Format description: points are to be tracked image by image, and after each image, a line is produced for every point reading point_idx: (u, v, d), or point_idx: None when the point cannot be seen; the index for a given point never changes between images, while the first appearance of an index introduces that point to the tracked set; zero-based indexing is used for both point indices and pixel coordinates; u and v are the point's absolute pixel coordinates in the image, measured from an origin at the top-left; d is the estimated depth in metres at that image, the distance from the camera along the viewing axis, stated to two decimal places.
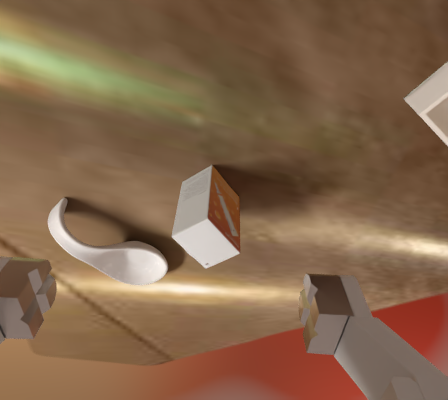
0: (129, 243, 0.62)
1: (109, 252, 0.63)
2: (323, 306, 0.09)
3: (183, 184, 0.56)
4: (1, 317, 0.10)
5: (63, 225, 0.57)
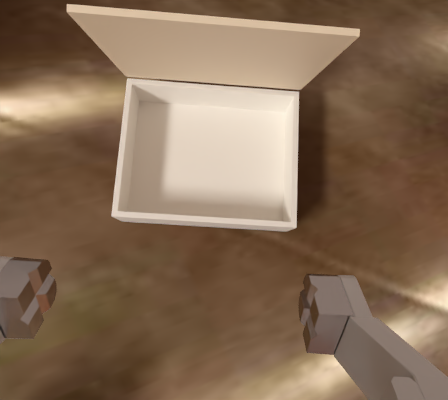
0: None
1: None
2: (323, 306, 0.09)
3: None
4: (1, 317, 0.10)
5: None
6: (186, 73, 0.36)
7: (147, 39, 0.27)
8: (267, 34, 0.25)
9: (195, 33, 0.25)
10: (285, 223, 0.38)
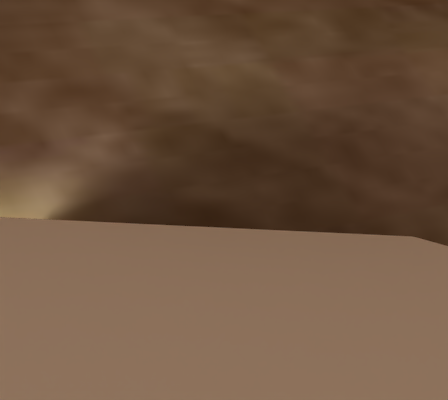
0: None
1: None
2: None
3: None
4: None
5: None
6: None
7: None
8: None
9: None
10: None
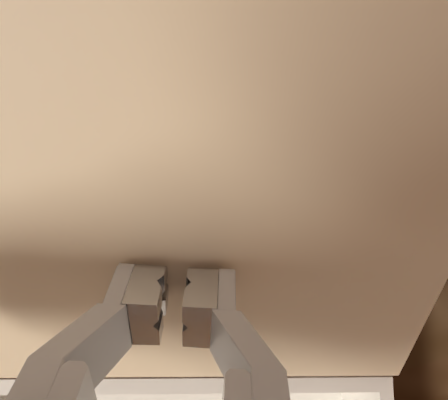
0: None
1: None
2: (189, 299, 0.09)
3: None
4: (135, 324, 0.10)
5: None
6: (68, 323, 0.12)
7: None
8: None
9: None
10: None
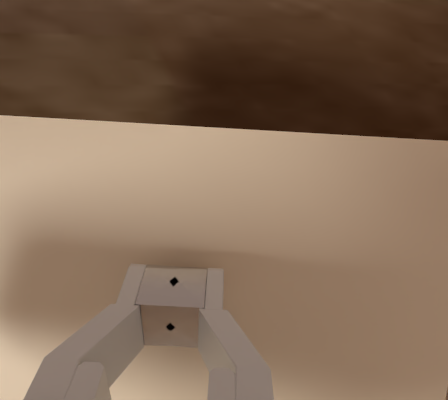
0: None
1: None
2: (176, 298, 0.09)
3: None
4: (147, 324, 0.10)
5: None
6: None
7: (6, 238, 0.11)
8: (289, 161, 0.11)
9: (127, 182, 0.11)
10: None
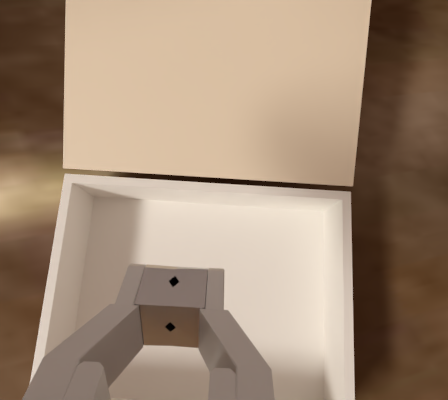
0: None
1: None
2: (177, 298, 0.09)
3: None
4: (146, 324, 0.10)
5: None
6: (168, 127, 0.23)
7: None
8: None
9: None
10: None
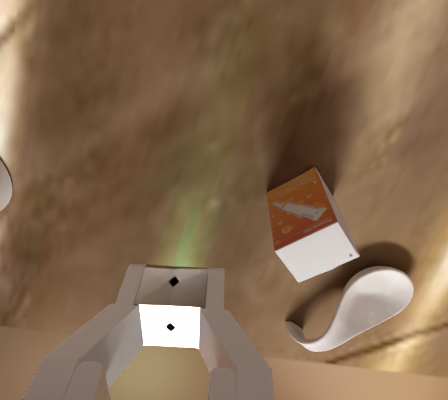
0: None
1: (350, 312, 0.60)
2: (177, 298, 0.09)
3: None
4: (146, 324, 0.10)
5: (300, 341, 0.61)
6: None
7: None
8: None
9: None
10: None
